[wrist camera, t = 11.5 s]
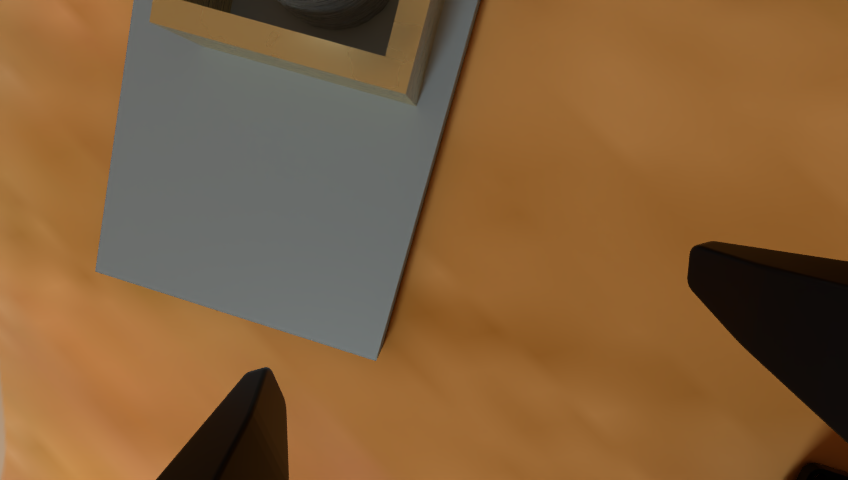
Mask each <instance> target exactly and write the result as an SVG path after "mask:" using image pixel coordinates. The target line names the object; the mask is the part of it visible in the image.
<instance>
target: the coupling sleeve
mask: <svg viewBox="0 0 848 480" xmlns="http://www.w3.org/2000/svg"><path fill="white" fill-rule="evenodd" d="M277 1H278V2H279V3H281V4H282V5H283V6H284V7H285V8H287V9H288V10H289V11H290V12H291V13H293V14H294V15H295V16H296V17H298V18H299V19H300V20H302V21H304V22H305V23H307V24H309V25H312V26H314V27H317V28H321V29H327V30H343V29H348V28H352V27H355V26H358V25H360V24H362V23H364V22H366V21H368V20H369V19H371V18H372V17H374V16H375V15H376V14H377V13H378V12H379V11H381V10H382V8H383V7H384V6H385V5H386V4H387V3H388V1H389V0H277Z"/></svg>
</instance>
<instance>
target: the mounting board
mask: <svg viewBox="0 0 848 480" xmlns="http://www.w3.org/2000/svg"><path fill="white" fill-rule="evenodd" d="M152 1H153V0H134V3H133V10H132V17H131V24H130V31H129V38H128V45H127V52H126V59H125V66H124V73H123V80H122V87H121V94H120V101H119V109H118V116H117V123H116V130H115V137H114V144H113V151H112V158H111V165H110V172H109V179H108V186H107V193H106V200H105V207H104V214H103V221H102V228H101V235H100V242H99V249H98V256H97V263H96V270H95V271H96V272H99V273H102V274H105V275H108V276H111V277H114V278H118V279H121V280H124V281H127V282H130V283H133V284H136V285H139V286H143V287H146V288H149V289H152V290H155V291H158V292H161V293H165V294H168V295H171V296H174V297H177V298H180V299H183V300H187V301H190V302H193V303H196V304H199V305H202V306H205V307H208V308H212V309H215V310H218V311H221V312H224V313H227V314H230V315H234V316H237V317H240V318H243V319H246V320H249V321H252V322H256V323H259V324H262V325H265V326H268V327H271V328H274V329H277V330H281V331H284V332H287V333H290V334H293V335H296V336H299V337H303V338H306V339H309V340H312V341H315V342H318V343H321V344H325V345H328V346H331V347H334V348H337V349H340V350H343V351H346V352H350V353H353V354H356V355H359V356H362V357H365V358H368V359H372V360H375V361H376V360H377V358H378V356H379V354H380V352H381V349H382V346H383V342H384V339H385V335H386V332H387V328H388V325H389V321H390V318H391V314H392V311H393V307H394V303H395V300H396V296H397V293H398V289H399V286H400V282H401V279H402V275H403V272H404V268H405V265H406V261H407V258H408V254H409V251H410V247H411V244H412V240H413V237H414V233H415V230H416V226H417V223H418V219H419V215H420V212H421V208H422V205H423V201H424V198H425V194H426V191H427V187H428V184H429V180H430V177H431V173H432V170H433V166H434V163H435V159H436V156H437V152H438V149H439V145H440V142H441V138H442V135H443V131H444V127H445V124H446V120H447V117H448V113H449V110H450V106H451V103H452V99H453V96H454V92H455V89H456V85H457V82H458V78H459V75H460V71H461V68H462V64H463V61H464V57H465V54H466V50H467V47H468V43H469V39H470V36H471V32H472V29H473V25H474V22H475V18H476V15H477V11H478V8H479V4H480V1H481V0H445V2H444V6H443V9H442V13H441V17H440V21H439V24H438V28H437V32H436V35H435V39H434V43H433V46H432V50H431V54H430V58H429V61H428V65H427V69H426V72H425V76H424V80H423V84H422V87H421V91H420V95H419V98H418V102H417V106H413V105H409V104H406V103H402V102H398V101H395V100H391V99H388V98H384V97H381V96H377V95H374V94H370V93H367V92H363V91H360V90H356V89H353V88H349V87H345V86H342V85H338V84H335V83H331V82H328V81H324V80H321V79H317V78H314V77H310V76H307V75H303V74H300V73H296V72H292V71H289V70H285V69H282V68H278V67H275V66H271V65H268V64H264V63H261V62H257V61H254V60H250V59H247V58H243V57H240V56H236V55H232V54H229V53H225V52H222V51H218V50H215V49H211V48H208V47H204V46H201V45H199V44H196V43H194V42H192V41H190V40H188V39H185V38H183V37H181V36H179V35H177V34H175V33H172V32H170V31H168V30H166V29H164V28H161V27H159V26H157V25H155V24H153V23H150V22H149V21H150V14H151V8H152ZM398 3H399V0H389V1H388V3H387V4H386V5H385V6H384V7H383V8H382V10H381V11H379V12H378V13H377V14H376V15H375V16H374V17H372V18H371V19H369V20H368V21H366V22H364V23H362V24H360V25H358V26H355V27H352V28H348V29H343V30H327V29H321V28H317V27H314V26H312V25H309V24H307V23H305V22H304V21H302V20H300V19H299V18H298V17H296V16H295V15H294V14H293V13H291V12H290V11H289V10H288V9H287V8H285V7H284V6H283V5H282V4H281V3H279V2H278V1H277V0H233V1H232V6H231V12H230V14H234V15H237V16H241V17H244V18H248V19H252V20H255V21H259V22H263V23H266V24H270V25H273V26H277V27H281V28H284V29H288V30H291V31H295V32H299V33H302V34H306V35H309V36H313V37H317V38H320V39H324V40H327V41H331V42H335V43H338V44H342V45H345V46H349V47H353V48H356V49H360V50H363V51H367V52H371V53H374V54H378V55H381V56H385V55H386V51H387V47H388V43H389V39H390V35H391V31H392V27H393V23H394V19H395V15H396V11H397V7H398Z"/></svg>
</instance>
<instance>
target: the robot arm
mask: <svg viewBox="0 0 848 480" xmlns="http://www.w3.org/2000/svg"><path fill="white" fill-rule="evenodd" d="M687 280H688V284H689V287H690V288H691V290H692V291H693V292H694V293H695V295H696V296H697V297H698V298H699V299H700V300H701V301H702V302H703V303H704V304H705V306H706V307H707V308H708V309H709V310H710V311H711V312H712V313H713V314H714V316H715V317H716V318H717V319H718V320H719V321H720V322H721V323H722V324H723V326H724V327H725V328H726V329H727V330H728V331H729V332H730V333H731V334H732V336H733V337H734V338H735V339H736V340H737V341H738V342H739V343H740V344H741V345H742V346H743V347H744V348H745V349H746V350H747V351H748V352H749V353H750V354H751V355H753V356H754V357H755V358H756V359H757V360H758V361H759V362H760V363H761V364H762V365H763V366H764V367H766V368H767V369H768V370H769V371H770V372H771V373H772V374H773V375H774V376H775V377H776V378H777V379H779V380H780V381H781V382H782V383H783V384H784V385H785V386H786V387H787V388H788V389H789V390H790V391H792V392H793V393H794V394H795V395H796V396H797V397H798V398H799V399H800V400H801V401H802V402H803V403H805V404H806V405H807V406H808V407H809V408H810V409H811V410H812V411H813V412H814V413H815V414H816V415H818V416H819V417H820V418H821V419H822V420H823V421H824V422H825V423H826V424H827V425H828V426H829V427H831V428H832V429H833V430H834V431H835V432H836V433H837V434H838V435H839V436H840V437H841V438H842V439H844V440H845V441H846V442H847V443H848V261H841V260H835V259H828V258H822V257H815V256H808V255H802V254H795V253H789V252H782V251H775V250H769V249H762V248H756V247H749V246H742V245H736V244H729V243H723V242H716V241H710V242H706V243H702V244H699V245H696V246H694V247H693V248H692V249H691V251H690V256H689V266H688V276H687ZM817 474H819V475H818V476H817V477H814V476H815V475H817ZM156 480H289V470H288V442H287V415H286V404H285V400H284V397H283V395H282V392H281V390H280V388H279V386H278V383H277V381H276V379H275V377H274V374H273V372H272V371H271V369H270V368H267V367H264V368H261V369H257V370H254V371H250V372H248V373H246V374H245V375H244V376H243V377H242V379H241V380H240V381H239V382H238V383H237V385H236V386H235V387H234V388H233V389H232V390H231V392H230V393H229V394H228V395H227V396H226V398H225V399H224V400H223V401H222V402H221V403H220V405H219V406H218V407H217V408H216V409H215V411H214V412H213V413H212V414H211V415H210V416H209V418H208V419H207V420H206V421H205V422H204V424H203V425H202V426H201V427H200V428H199V429H198V431H197V432H196V433H195V434H194V435H193V437H192V438H191V439H190V440H189V441H188V442H187V444H186V445H185V446H184V447H183V448H182V450H181V451H180V452H179V453H178V454H177V455H176V457H175V458H174V459H173V460H172V461H171V463H170V464H169V465H168V466H167V467H166V468H165V470H164V471H163V472H162V473H161V474H160V476H159V477H158V478H157V479H156ZM796 480H848V473H847V472H844V471H841V470H837V469H834V468H831V467H828V466H825V465H822V464H818V463H809V464H807V465H805V466H804V467H803V468H802V469H801V471H800V473H799V475H798V477H797V479H796Z"/></svg>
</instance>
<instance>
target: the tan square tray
mask: <svg viewBox="0 0 848 480" xmlns="http://www.w3.org/2000/svg"><path fill="white" fill-rule="evenodd" d="M232 1H233V0H153V1H152V8H151V14H150V21H149V22H150V23H153V24H155V25H157V26H159V27H161V28H164V29H166V30H168V31H170V32H172V33H175V34H177V35H179V36H181V37H183V38H185V39H188V40H190V41H192V42H194V43H196V44H199V45H201V46H204V47H208V48H211V49H215V50H218V51H222V52H225V53H229V54H232V55H236V56H240V57H243V58H247V59H250V60H254V61H257V62H261V63H264V64H268V65H271V66H275V67H278V68H282V69H285V70H289V71H292V72H296V73H300V74H303V75H307V76H310V77H314V78H317V79H321V80H324V81H328V82H331V83H335V84H338V85H342V86H345V87H349V88H353V89H356V90H360V91H363V92H367V93H370V94H374V95H377V96H381V97H384V98H388V99H391V100H395V101H398V102H402V103H406V104H409V105H413V106H417V102H418V98H419V95H420V91H421V87H422V84H423V80H424V76H425V72H426V69H427V65H428V61H429V58H430V54H431V50H432V46H433V43H434V39H435V35H436V32H437V28H438V24H439V21H440V17H441V13H442V9H443V6H444V2H445V0H399V3H398V7H397V11H396V15H395V19H394V23H393V27H392V31H391V35H390V39H389V43H388V47H387V51H386V55H385V56H381V55H378V54H374V53H371V52H367V51H363V50H360V49H356V48H353V47H349V46H345V45H342V44H338V43H335V42H331V41H327V40H324V39H320V38H317V37H313V36H309V35H306V34H302V33H299V32H295V31H291V30H288V29H284V28H281V27H277V26H273V25H270V24H266V23H263V22H259V21H255V20H252V19H248V18H244V17H241V16H237V15H234V14H230V12H231V6H232Z"/></svg>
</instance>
